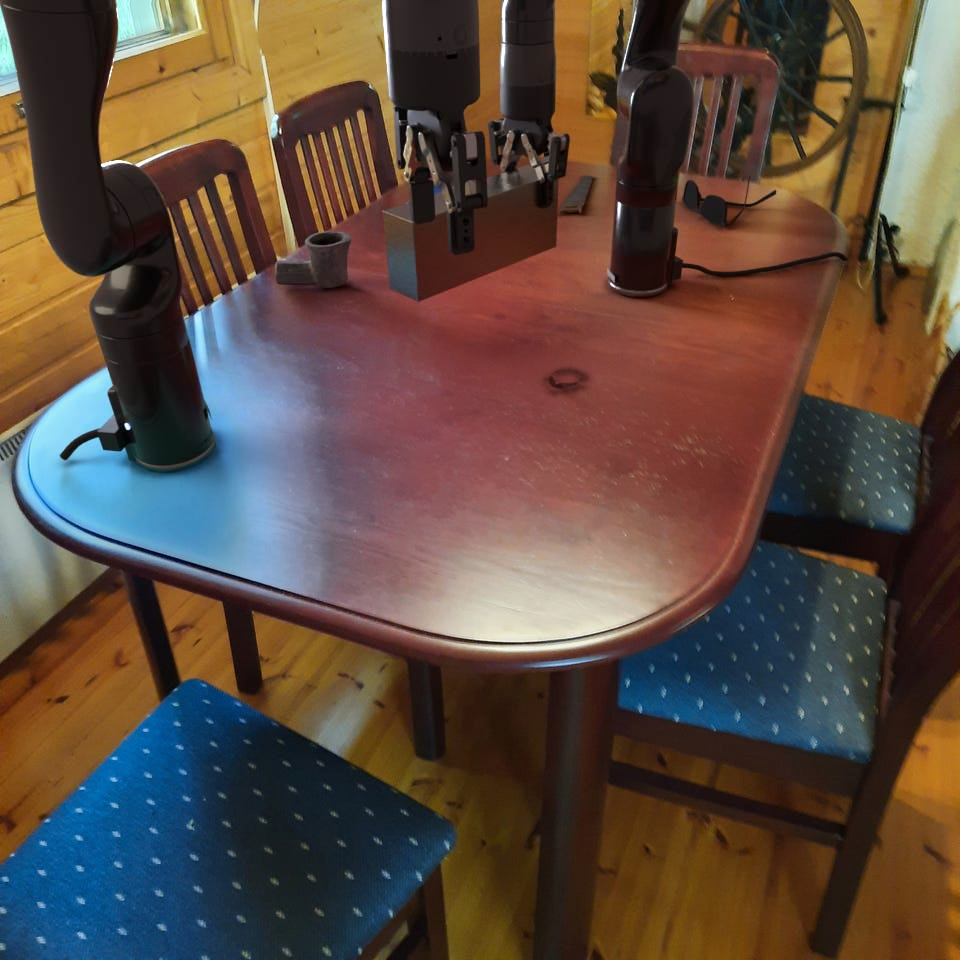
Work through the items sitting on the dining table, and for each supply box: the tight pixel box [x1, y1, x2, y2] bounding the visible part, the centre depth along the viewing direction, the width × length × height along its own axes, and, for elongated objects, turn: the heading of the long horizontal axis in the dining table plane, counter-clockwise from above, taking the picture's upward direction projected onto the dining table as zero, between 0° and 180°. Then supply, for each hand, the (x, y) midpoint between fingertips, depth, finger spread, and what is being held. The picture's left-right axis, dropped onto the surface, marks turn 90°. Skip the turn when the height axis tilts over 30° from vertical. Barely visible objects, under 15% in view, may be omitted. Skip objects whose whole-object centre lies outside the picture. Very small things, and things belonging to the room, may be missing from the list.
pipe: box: [274, 230, 352, 289], centre depth 138 cm, size 6×13×8 cm, turn 95°
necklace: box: [548, 368, 584, 389], centre depth 114 cm, size 4×6×1 cm, turn 151°
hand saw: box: [558, 175, 594, 215], centre depth 174 cm, size 24×5×1 cm, turn 168°
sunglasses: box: [681, 175, 777, 228], centre depth 163 cm, size 17×14×5 cm
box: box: [382, 164, 559, 303], centre depth 120 cm, size 27×6×11 cm, turn 133°
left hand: (442, 236), depth 78 cm, fingers open, 8 cm apart
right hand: (527, 201), depth 125 cm, fingers closed on box, 6 cm apart
